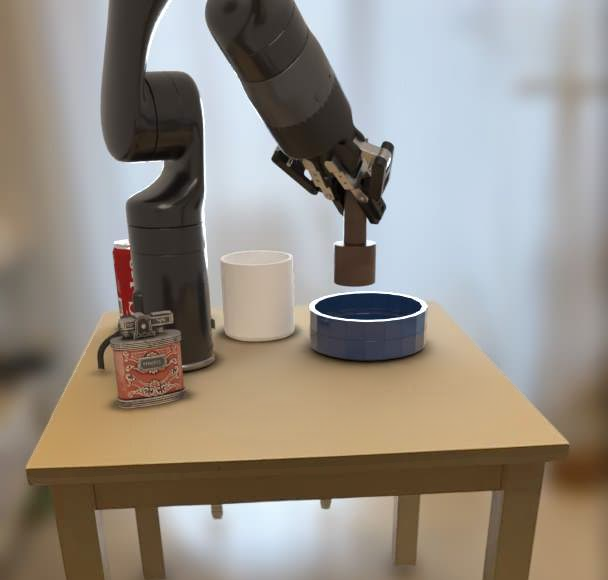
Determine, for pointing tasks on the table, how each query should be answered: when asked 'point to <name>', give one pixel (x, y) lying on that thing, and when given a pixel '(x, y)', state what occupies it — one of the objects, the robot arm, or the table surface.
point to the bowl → (368, 325)
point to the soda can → (123, 276)
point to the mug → (258, 295)
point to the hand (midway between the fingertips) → (365, 215)
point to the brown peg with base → (354, 247)
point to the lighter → (148, 361)
